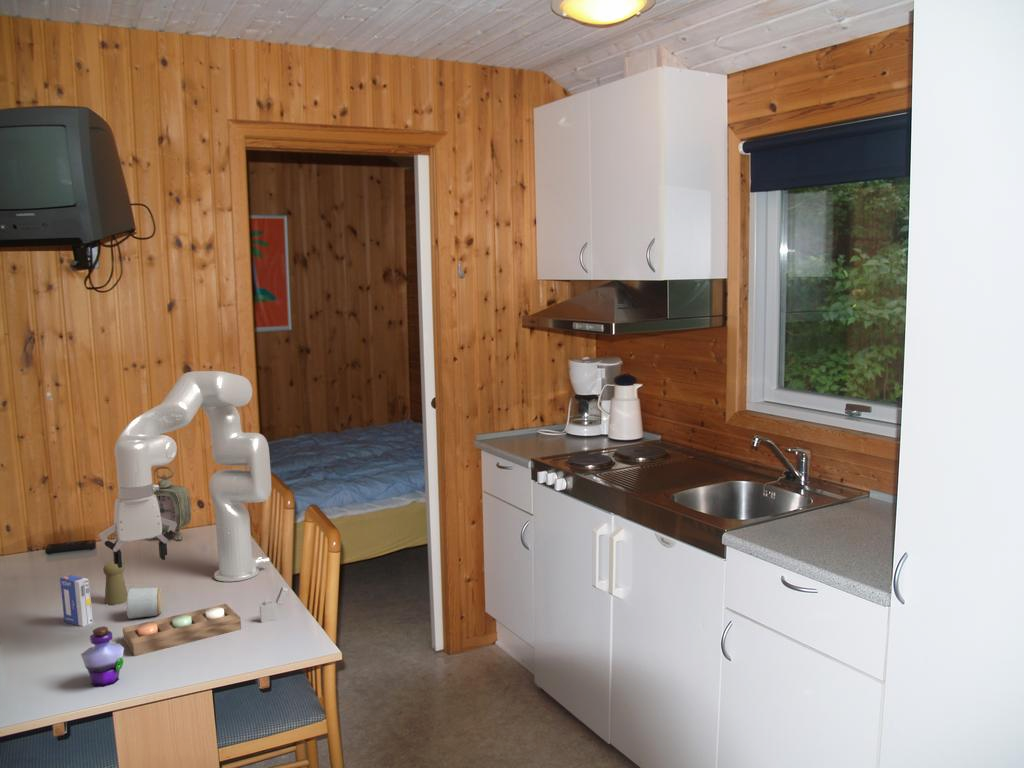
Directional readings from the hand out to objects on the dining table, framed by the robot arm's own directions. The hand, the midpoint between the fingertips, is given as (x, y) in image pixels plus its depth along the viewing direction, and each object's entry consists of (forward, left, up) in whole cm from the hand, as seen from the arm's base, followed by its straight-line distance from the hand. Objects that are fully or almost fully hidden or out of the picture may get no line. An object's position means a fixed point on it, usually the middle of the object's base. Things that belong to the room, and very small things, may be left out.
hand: (141, 562), depth 212 cm
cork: (+1, -35, -20) cm, 40 cm away
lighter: (-29, +6, -20) cm, 36 cm away
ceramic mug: (-4, -19, -20) cm, 28 cm away
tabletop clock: (-26, -89, -20) cm, 95 cm away
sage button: (-8, +1, -18) cm, 20 cm away
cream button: (-16, +1, -18) cm, 24 cm away
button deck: (-8, +1, -20) cm, 21 cm away
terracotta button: (0, +1, -18) cm, 18 cm away
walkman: (+12, -25, -20) cm, 34 cm away
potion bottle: (+13, +17, -20) cm, 29 cm away
